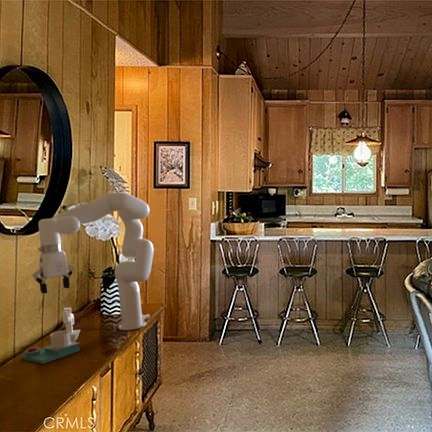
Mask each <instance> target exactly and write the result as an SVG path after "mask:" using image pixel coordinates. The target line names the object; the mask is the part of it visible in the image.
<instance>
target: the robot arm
mask: <svg viewBox="0 0 432 432" xmlns="http://www.w3.org/2000/svg"><path fill="white" fill-rule="evenodd" d="M113 212H117V215H118V217H119V218H120V219H121V221H122V223H123V225H124V234H123V241H122V247H121V255H122V256H123V257H124V258H126V259H130V260H125V261H121V262H119V263H118V264H116V266H115V267H114V277H115V280H116V284H117V289H118V300H119V310H120V321H121V322H120V323H121V324H119V325H118V330H120V331H133V330H138V329H141V328H143V327H145V326H146V325H147V322H146V321H145V320H147V319H150V318H151V315H150V314H149V313H148V314H145V315H144V314H143V313H142V301H141V292H140V291H141V290H140V285H139V284H138V283H143V282H146V281H147V280H148V279H149V277H150V275H151V271H152V265H153V260H154V251H155V248H154V245H153V243H152V241H150V240H149V239H147V238H143V237H144V226H143V223H142V221H141V220H144V219H145V218H147V217H148V216H149V214H150V206H149V204H148V203H147V202H145V201H144V200H142V199H140V198H139V197H136V196H133V195H132V194H129V193H127V192H123V191H120V192H108V193H106V194H104V195H102V196H100V197H97V198H95V199H93V200H91V201H89V202H87V203H85V204H81V205H79V206H76V207H74V208H70V209H68V210H65V211H63V212H61V213H59V214H57V215H55V216H53V217H51V218H42V219H40V220H39V221H38V233H39V242H40V245H39V247H38V248H37V250H38V252H40V254H39V259H38V261H39V263H38V269H37V270H35V272H33V273H32V274H31V276H32V278H33V279H34V281H35V282H36V283H38V284H39V290H40V293H41V294H44V295H45V294H47V293H48V287H47V283H46V282H47V280H48V279H53V278H57V277H62V286H63V288H64V289H70V279H71V276H72V274H73V271H74V268H75V267H74V266H73V265H70V264H68V259H67V256H66V252H65V251H64V250H63V249H62V248H63V247H62V238H61V237H62V236H61V235H73V234H76V233H77V232H78V231H79V230H80V229H81V225H82V224H83V225H84V224H89V223H93V222H97V221H99V220H100V219H102V218H105V217H106V216H108V215H110V214H112V213H113ZM132 260H135V261H132Z"/></svg>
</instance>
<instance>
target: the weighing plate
mask: <svg viewBox="0 0 432 432" xmlns="http://www.w3.org/2000/svg"><path fill="white" fill-rule="evenodd" d="M79 345H80V342H77V341H75V342H73V341H71V344H70V345H68V346H65V347H61V348H52V347H51V344H49V345H45V346H43V347H42V349H44V350H45V352H46V353H50V354H54V355H58V359H61V358H63V357H67V356H69V355H72V354H75V353H77V352H80V347H79Z"/></svg>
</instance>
